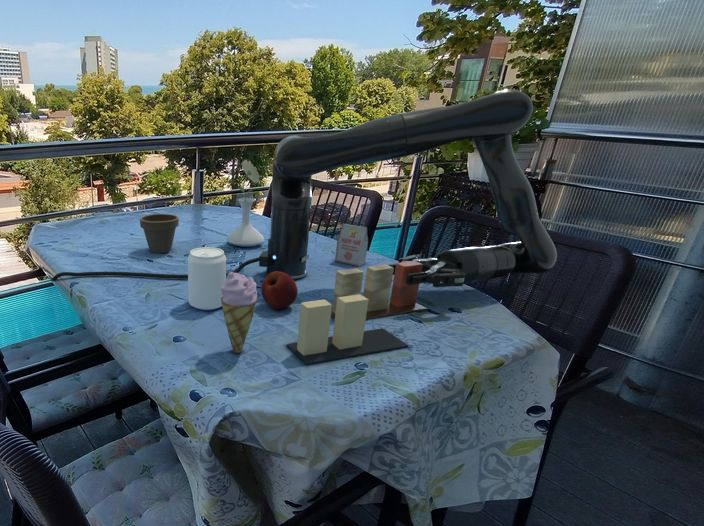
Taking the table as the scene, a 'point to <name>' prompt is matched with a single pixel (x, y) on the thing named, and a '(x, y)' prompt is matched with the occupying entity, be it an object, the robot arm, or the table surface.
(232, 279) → the ice cream cone
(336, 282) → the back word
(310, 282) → the table surface
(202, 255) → the beverage can
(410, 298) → the orange rectangular block
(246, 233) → the flower in vase
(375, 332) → the front word
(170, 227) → the flower pot
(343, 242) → the white tea box
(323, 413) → the table surface
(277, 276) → the apple
